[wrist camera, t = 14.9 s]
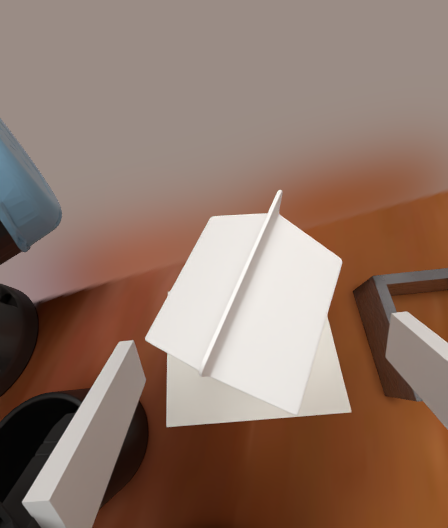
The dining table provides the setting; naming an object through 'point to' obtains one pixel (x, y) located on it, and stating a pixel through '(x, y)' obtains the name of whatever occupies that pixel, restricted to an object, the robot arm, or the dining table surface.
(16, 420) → the mug
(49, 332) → the dining table surface
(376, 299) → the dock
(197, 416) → the board
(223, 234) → the milk
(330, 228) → the dining table surface
